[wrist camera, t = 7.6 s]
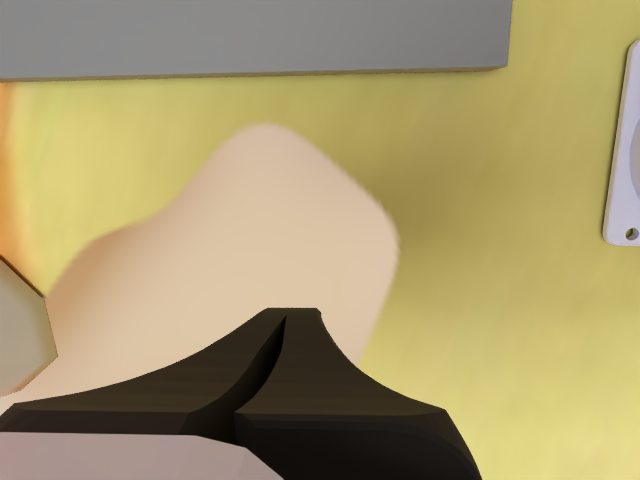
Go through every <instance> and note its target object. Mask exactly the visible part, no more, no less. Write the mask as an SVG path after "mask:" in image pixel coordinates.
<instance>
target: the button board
mask: <svg viewBox="0 0 640 480" xmlns="http://www.w3.org/2000/svg"><path fill="white" fill-rule="evenodd" d="M511 12H512V0H0V82H32V81H75V80H118V79H160V78H203V77H246V76H288V75H331V74H374V73H416V72H459V71H491V70H495V69H498V68H502V67H505V66H507V62H508V50H509V37H510V24H511Z"/></svg>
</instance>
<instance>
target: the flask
mask: <svg viewBox="0 0 640 480" xmlns="http://www.w3.org/2000/svg"><path fill="white" fill-rule="evenodd" d="M57 357H58V354H57V350H56V346H55V342H54V338H53V333H52V330H51V325H50V321H49V317H48V313H47V309H46V305H45V301H44V300H43V299H42V298H41V297H40V296H39V295H38V294H37V293H36V292H35V291H33V290H32V289H31V288H30V287H29V286H28V285H27V284H26V283H25V282H24V281H23V280H22V279H21V278H20V277H19V276H18V275H16V274H15V273H14V272H13V271H12V270H11V269H10V268H9V267H8V266H7V265H6V264H5V263H4V262H3V261H2V260H1V259H0V397H3V396H6V395H9V394H12V393H14V392H17V391H20V390H22V389H23V388H24V387H25V386H26V385H27V384H29V383H30V382H31V381H32V380H33V379H34V378H35V377H36V376H37V375H38V374H39V373H40V372H42V371H43V370H44V369H45V368H46V367H47V366H48V365H49V364H50V363H52V362H53V361H54V360H55V359H56V358H57Z"/></svg>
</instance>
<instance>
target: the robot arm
mask: <svg viewBox="0 0 640 480" xmlns="http://www.w3.org/2000/svg"><path fill="white" fill-rule="evenodd" d="M631 228H633V234H632V235H631V236H630V237H628V238H626V235H625V234H626V232H627V231H628V230H629V229H631ZM603 238H604V240H605V241H606V242H608V243H610V244H612V245H616V246H640V39H639V40H637V41H635V42H634V43H633V44H632V45H631V46H630V48H629V51H628V55H627V62H626V69H625V76H624V83H623V90H622V97H621V104H620V112H619V119H618V126H617V133H616V140H615V147H614V154H613V161H612V168H611V176H610V183H609V190H608V197H607V204H606V211H605V218H604V225H603ZM0 480H482V478H481V475H480V473H479V470H478V467H477V465H476V463H475V461H474V459H473V456H472V454H471V452H470V450H469V448H468V447H467V445H466V443H465V441H464V440H463V438H462V436H461V434H460V433H459V431H458V429H457V428H456V426H455V424H454V423H453V421H452V419H451V418H450V416H449V414H448V413H447V411H446V410H445V409H442V408H439V407H436V406H433V405H430V404H427V403H423V402H420V401H417V400H414V399H411V398H409V397H406V396H404V395H402V394H400V393H397V392H395V391H393V390H391V389H389V388H387V387H385V386H383V385H382V384H380V383H378V382H377V381H375V380H374V379H372V378H371V377H369V376H368V375H366V374H365V373H363V372H362V371H361V370H359V369H358V368H357V367H356V366H355V365H354V364H353V363H351V362H350V361H349V360H348V359H347V357H346V356H345V355H344V354H343V353H342V351H341V350H340V349H339V348H338V346H337V345H336V343H335V342H334V341H333V339H332V337H331V336H330V334H329V333H328V331H327V330H326V327H325V325H324V323H323V321H322V318H321V312H320V311H319V310H318V309H317V308H267V309H264V310H263V311H261V312H260V313H258V314H257V315H255V316H254V317H253V318H251V319H250V320H248V321H247V322H245V323H244V324H243V325H241V326H240V327H238V328H237V329H236V330H234V331H233V332H231V333H229V334H228V335H226V336H224V337H223V338H221V339H220V340H218V341H216V342H214V343H213V344H211V345H210V346H208V347H206V348H205V349H203V350H201V351H199V352H197V353H195V354H193V355H191V356H189V357H187V358H185V359H183V360H180V361H178V362H176V363H174V364H172V365H169V366H167V367H164V368H161V369H159V370H156V371H153V372H150V373H147V374H145V375H142V376H139V377H136V378H133V379H130V380H127V381H124V382H120V383H116V384H113V385H109V386H106V387H101V388H97V389H93V390H89V391H84V392H80V393H75V394H70V395H65V396H58V397H52V398H46V399H40V400H34V401H28V402H21V403H14V404H13V405H12V406H11V407H10V408H9V409H7V410H6V411H5V412H4V413H3V414H2V415H1V416H0Z"/></svg>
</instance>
